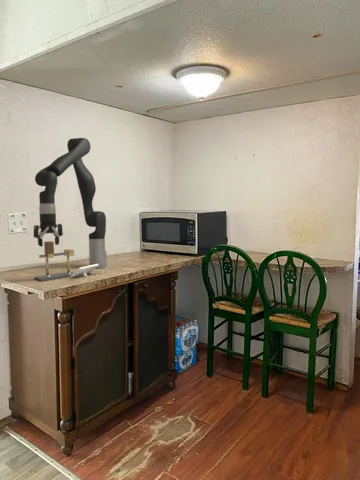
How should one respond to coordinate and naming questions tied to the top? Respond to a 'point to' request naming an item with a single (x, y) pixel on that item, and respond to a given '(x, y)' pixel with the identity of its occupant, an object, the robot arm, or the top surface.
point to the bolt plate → (53, 276)
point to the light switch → (84, 270)
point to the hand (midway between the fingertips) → (48, 245)
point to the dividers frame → (66, 253)
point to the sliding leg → (48, 253)
